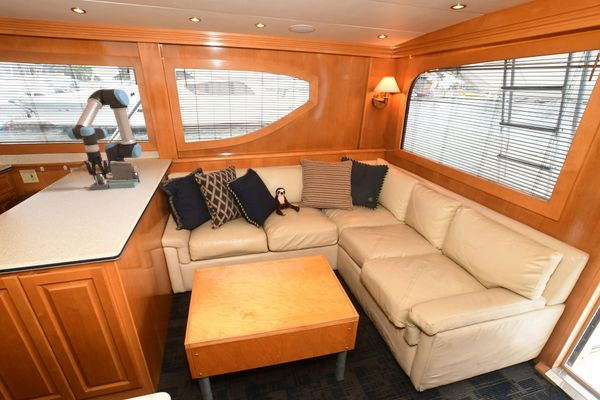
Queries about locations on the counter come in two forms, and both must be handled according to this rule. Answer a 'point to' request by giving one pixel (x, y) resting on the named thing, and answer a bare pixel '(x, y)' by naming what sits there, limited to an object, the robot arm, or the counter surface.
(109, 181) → the grey square tray
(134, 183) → the trough
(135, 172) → the cell
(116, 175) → the geiger counter
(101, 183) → the cell
